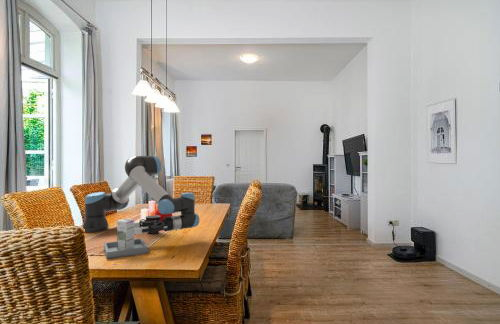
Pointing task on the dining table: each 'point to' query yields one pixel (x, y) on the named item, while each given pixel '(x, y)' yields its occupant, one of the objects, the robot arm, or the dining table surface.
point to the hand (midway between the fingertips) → (130, 228)
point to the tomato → (162, 215)
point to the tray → (112, 251)
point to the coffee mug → (152, 218)
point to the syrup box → (125, 234)
